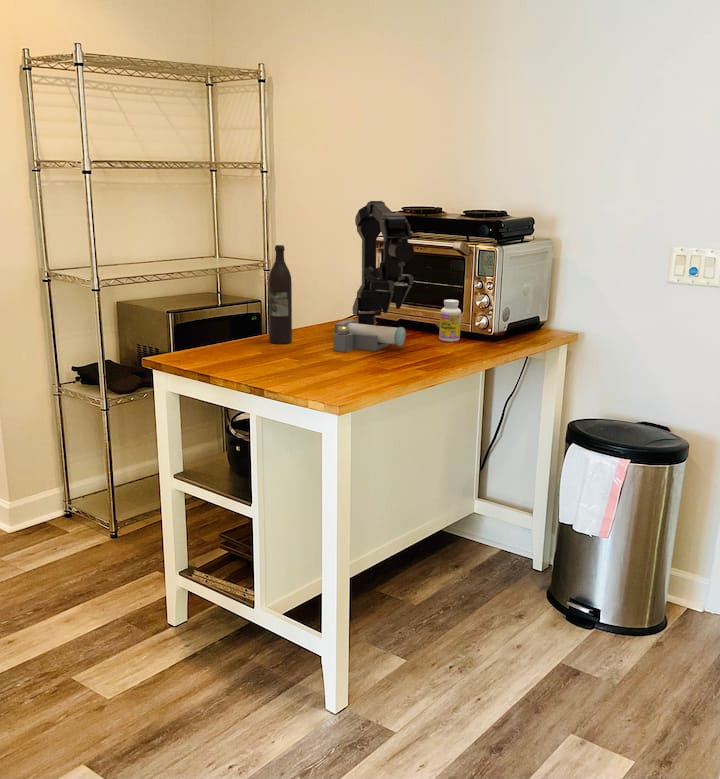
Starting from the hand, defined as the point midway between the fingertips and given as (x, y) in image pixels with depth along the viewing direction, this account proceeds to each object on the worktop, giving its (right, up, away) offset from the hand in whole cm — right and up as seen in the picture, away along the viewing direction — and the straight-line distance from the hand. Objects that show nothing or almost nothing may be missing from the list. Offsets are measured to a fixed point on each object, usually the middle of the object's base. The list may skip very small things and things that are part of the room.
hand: (391, 310), depth 243 cm
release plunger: (-15, -11, +1) cm, 18 cm away
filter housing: (-10, -11, +5) cm, 16 cm away
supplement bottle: (+19, -8, +18) cm, 28 cm away
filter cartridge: (-5, -9, +5) cm, 12 cm away
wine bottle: (-34, -9, +11) cm, 37 cm away
